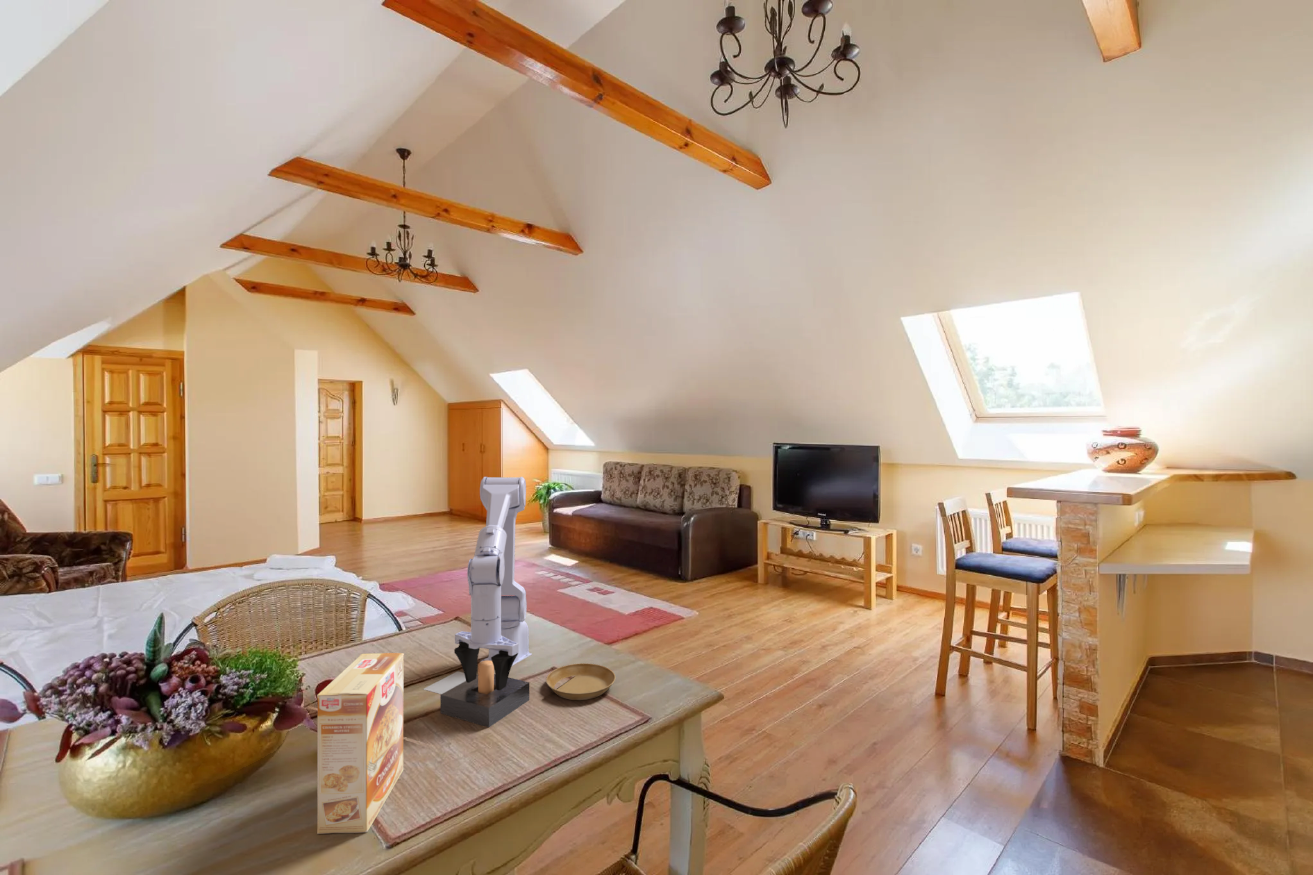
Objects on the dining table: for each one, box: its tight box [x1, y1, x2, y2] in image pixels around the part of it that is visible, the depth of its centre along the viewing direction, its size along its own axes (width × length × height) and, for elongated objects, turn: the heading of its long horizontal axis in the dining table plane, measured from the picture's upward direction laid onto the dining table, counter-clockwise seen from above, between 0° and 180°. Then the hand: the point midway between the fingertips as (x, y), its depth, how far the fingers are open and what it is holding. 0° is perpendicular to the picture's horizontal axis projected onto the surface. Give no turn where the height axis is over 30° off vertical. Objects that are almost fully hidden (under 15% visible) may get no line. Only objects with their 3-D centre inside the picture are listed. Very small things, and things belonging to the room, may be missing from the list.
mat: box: [422, 671, 466, 695], centre depth 127 cm, size 10×10×1 cm
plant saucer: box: [545, 662, 616, 701], centre depth 126 cm, size 15×15×3 cm
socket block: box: [439, 673, 530, 728], centre depth 117 cm, size 12×12×4 cm
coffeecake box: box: [316, 652, 405, 835], centre depth 88 cm, size 15×7×20 cm, turn 4°
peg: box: [477, 660, 495, 695], centre depth 117 cm, size 3×3×9 cm
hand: (486, 684), depth 117 cm, fingers open, 7 cm apart
